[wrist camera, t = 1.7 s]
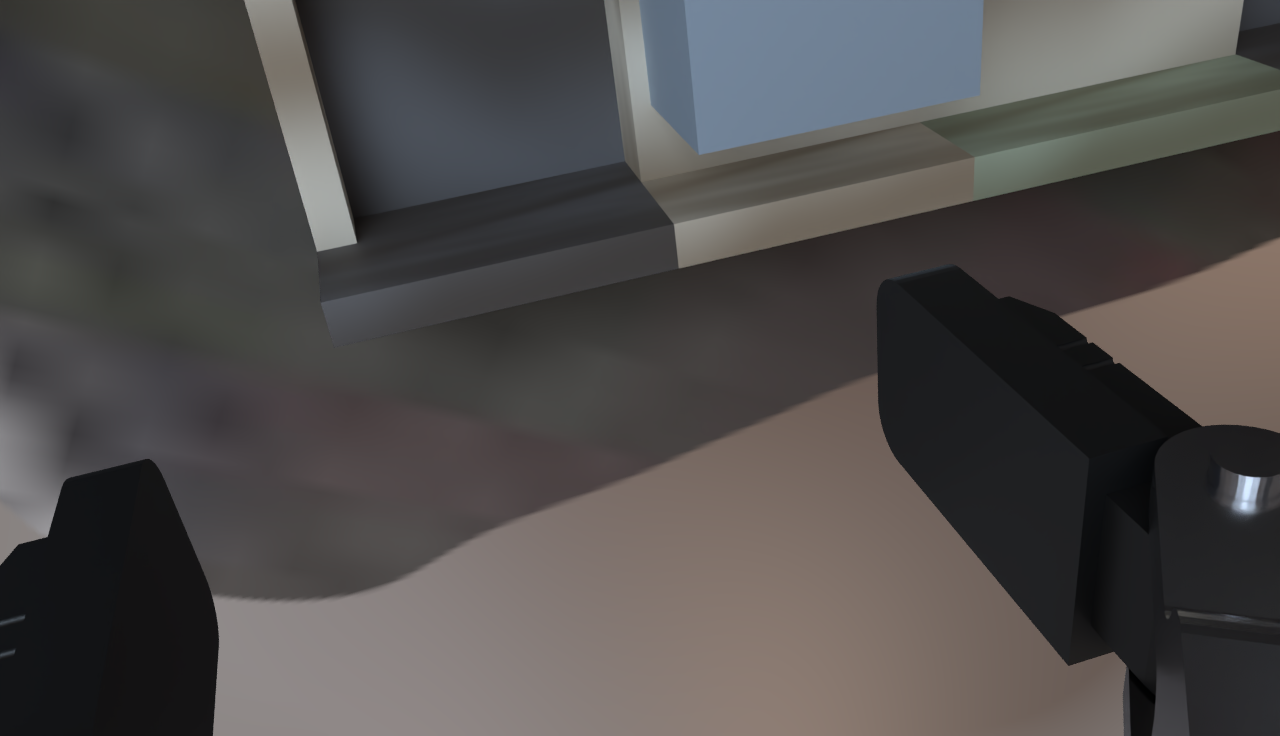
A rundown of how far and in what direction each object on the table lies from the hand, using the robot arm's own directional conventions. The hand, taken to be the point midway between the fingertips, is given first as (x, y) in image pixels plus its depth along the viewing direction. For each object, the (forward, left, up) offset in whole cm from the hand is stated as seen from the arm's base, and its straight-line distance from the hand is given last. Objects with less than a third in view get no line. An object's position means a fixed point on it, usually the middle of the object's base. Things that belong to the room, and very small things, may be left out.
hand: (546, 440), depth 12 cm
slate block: (0, +9, -18) cm, 20 cm away
